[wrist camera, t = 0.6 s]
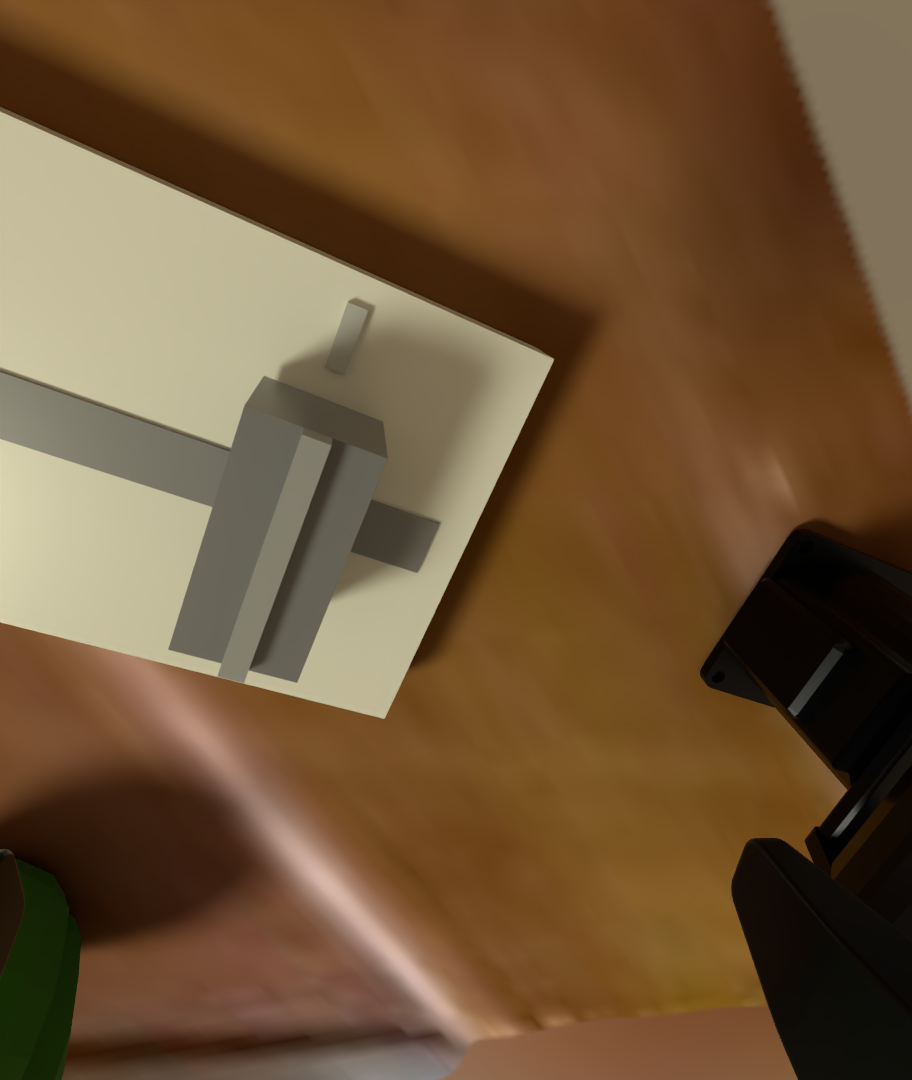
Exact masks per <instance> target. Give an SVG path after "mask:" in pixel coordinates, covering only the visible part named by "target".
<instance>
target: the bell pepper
mask: <svg viewBox="0 0 912 1080" xmlns="http://www.w3.org/2000/svg"><path fill="white" fill-rule="evenodd" d="M16 863H17V867H18V871H19V875H20V879H21V883H22V888H23V892H24V897H25V907H24V913H23V917H22V921H21V924H20V926H19V929H18V932H17V935H16V937H15V940H14V943H13V945H12V948H11V951H10V954H9V956H8V959H7V962H6V964H5V967H4V970H3V972H2V975H1V978H0V1080H61V1079H62V1076H63V1071H64V1066H65V1060H66V1055H67V1049H68V1044H69V1038H70V1033H71V1026H72V1018H73V1011H74V1004H75V997H76V990H77V983H78V975H79V961H80V947H81V935H80V932H79V929H78V925H77V922H76V919H75V917H74V916H71V915H69V906H68V903H67V900H66V897H65V894H64V892H63V890H62V889H61V887H60V885H59V884H58V882H57V880H56V878H55V877H54V875H52V874H50V873H48V872H46V871H43V870H41V869H39V868H37V867H35V866H33V865H30V864H28V863H26V862H24V861H22V860H20V859H16Z"/></svg>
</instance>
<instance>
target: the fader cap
mask: <svg viewBox="0 0 912 1080" xmlns="http://www.w3.org/2000/svg"><path fill="white" fill-rule="evenodd" d="M387 460H388V456H387V448H386V440H385V432H384V425H383V421H380V420H378V419H375V418H373V417H370V416H367V415H365V414H362V413H360V412H357V411H354V410H352V409H349V408H347V407H344V406H341V405H339V404H336V403H334V402H331V401H328V400H326V399H323V398H321V397H318V396H315V395H313V394H310V393H308V392H305V391H302V390H300V389H297V388H295V387H292V386H289V385H287V384H284V383H282V382H279V381H277V380H274V379H271V378H269V377H266V376H264V377H263V378H262V380H261V381H260V383H259V384H258V386H257V387H256V389H255V390H254V392H253V393H252V395H251V396H250V398H249V399H248V401H247V402H246V404H245V405H244V408H243V411H242V415H241V418H240V421H239V424H238V427H237V431H236V434H235V437H234V440H233V443H232V447H231V450H230V453H229V456H228V459H227V463H226V466H225V469H224V472H223V475H222V479H221V482H220V485H219V488H218V491H217V495H216V498H215V501H214V504H213V507H212V511H211V514H210V517H209V520H208V523H207V527H206V530H205V533H204V536H203V539H202V543H201V546H200V549H199V552H198V555H197V559H196V562H195V565H194V568H193V571H192V575H191V578H190V581H189V584H188V588H187V591H186V594H185V597H184V600H183V604H182V607H181V610H180V613H179V616H178V620H177V623H176V626H175V629H174V632H173V636H172V639H171V642H170V645H169V648H168V650H171V651H175V652H179V653H183V654H187V655H191V656H194V657H198V658H202V659H206V660H210V661H214V662H218V663H221V666H220V669H219V673H218V676H217V677H221V678H225V679H229V680H233V681H237V682H241V683H244V681H245V679H246V676H247V673H248V671H253V672H257V673H260V674H264V675H268V676H272V677H276V678H280V679H284V680H288V681H291V682H295V683H297V682H298V680H299V677H300V675H301V672H302V670H303V667H304V665H305V662H306V660H307V657H308V655H309V652H310V650H311V648H312V645H313V643H314V640H315V638H316V635H317V633H318V630H319V628H320V625H321V623H322V620H323V618H324V615H325V613H326V610H327V608H328V605H329V603H330V601H331V598H332V596H333V593H334V591H335V588H336V586H337V583H338V581H339V578H340V576H341V573H342V571H343V568H344V566H345V563H346V561H347V558H348V556H349V554H350V551H351V549H352V546H353V544H354V541H355V539H356V536H357V534H358V531H359V529H360V526H361V524H362V521H363V519H364V516H365V514H366V511H367V509H368V507H369V504H370V502H371V499H372V497H373V494H374V492H375V489H376V487H377V484H378V482H379V479H380V477H381V474H382V472H383V469H384V467H385V464H386V462H387Z"/></svg>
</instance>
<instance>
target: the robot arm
mask: <svg viewBox="0 0 912 1080" xmlns="http://www.w3.org/2000/svg"><path fill="white" fill-rule="evenodd" d="M805 541H807V542H806V544H805V545H804V546H803V547H802V548H800V545H801V544H802V543H803V542H805ZM799 548H800V549H799ZM718 671H719V673H718V674H717V675H714V674H715V673H716V672H718ZM713 675H714V676H713ZM700 676H701V678H702V679H703V680H704V682H705V683H706V684H707V686H709V687H711V688H713V689H717V690H720V691H723V692H726V693H729V694H733V695H736V696H739V697H742V698H745V699H749V700H752V701H755V702H758V703H762V704H765V705H768V706H771V707H774V708H776V709H777V710H778V711H779V712H780V713H781V715H782V716H783V717H784V718H785V719H786V720H787V721H788V723H789V724H790V725H791V726H792V727H793V728H794V729H795V731H796V732H797V733H798V734H799V735H800V736H801V737H802V739H803V740H804V741H805V742H806V743H807V744H808V745H809V747H810V748H811V749H812V750H813V751H814V752H815V753H816V755H817V756H818V757H819V758H820V759H821V760H822V761H823V763H824V764H825V765H826V766H827V767H828V768H829V769H830V771H831V772H832V773H833V774H834V775H835V776H836V777H837V779H838V780H839V781H840V782H841V783H842V784H843V785H844V787H845V788H846V789H847V792H846V793H845V794H844V796H843V797H842V798H841V800H840V801H839V802H838V803H837V805H836V806H835V807H834V809H833V810H832V811H831V812H830V814H829V815H828V816H827V818H826V819H825V820H824V822H823V823H822V824H821V825H820V827H814V829H813V830H812V831H811V833H810V834H809V835H808V836H807V838H806V839H805V843H806V846H807V848H808V851H809V853H810V855H811V858H812V860H813V863H814V864H813V863H812V862H811V861H810V860H808V859H807V858H806V857H804V856H803V855H802V854H801V853H799V852H798V851H797V850H795V849H794V848H793V847H792V846H790V845H789V844H788V843H786V842H785V841H783V840H781V839H777V838H754V839H750V840H749V841H748V842H747V843H746V845H745V847H744V849H743V852H742V855H741V857H740V860H739V863H738V865H737V868H736V871H735V874H734V876H733V879H732V886H731V890H732V898H733V902H734V905H735V908H736V911H737V914H738V917H739V920H740V923H741V926H742V929H743V932H744V935H745V938H746V941H747V944H748V947H749V950H750V953H751V956H752V959H753V962H754V965H755V968H756V971H757V974H758V977H759V980H760V983H761V986H762V989H763V992H764V995H765V998H766V1001H767V1004H768V1007H769V1010H770V1012H771V1015H772V1018H773V1021H774V1023H775V1026H776V1029H777V1031H778V1033H779V1036H780V1039H781V1041H782V1043H783V1046H784V1048H785V1051H786V1053H787V1055H788V1057H789V1060H790V1062H791V1064H792V1067H793V1069H794V1071H795V1074H796V1076H797V1078H798V1080H912V573H911V572H908V571H906V570H904V569H901V568H899V567H896V566H894V565H892V564H889V563H887V562H884V561H882V560H880V559H877V558H875V557H872V556H870V555H868V554H865V553H863V552H860V551H858V550H856V549H853V548H851V547H848V546H846V545H844V544H841V543H839V542H836V541H834V540H832V539H829V538H827V537H824V536H822V535H819V534H817V533H815V532H812V531H810V530H807V529H800V530H797V531H795V532H793V533H792V534H791V535H790V536H789V537H788V538H787V540H786V541H785V543H784V544H783V546H782V547H781V549H780V550H779V552H778V554H777V555H776V557H775V558H774V560H773V561H772V563H771V564H770V566H769V567H768V569H767V570H766V572H765V573H764V575H763V576H762V578H761V579H760V581H759V582H758V584H757V585H756V587H755V588H754V590H753V591H752V593H751V594H750V596H749V597H748V599H747V600H746V602H745V603H744V605H743V606H742V608H741V609H740V611H739V612H738V614H737V615H736V617H735V618H734V620H733V621H732V623H731V624H730V626H729V627H728V629H727V630H726V632H725V633H724V635H723V636H722V638H721V639H720V641H719V642H718V644H717V645H716V647H715V648H714V650H713V651H712V653H711V654H710V656H709V657H708V659H707V660H706V662H705V663H704V665H703V666H702V669H701V671H700ZM24 907H25V897H24V892H23V888H22V883H21V879H20V875H19V871H18V867H17V863H16V859H15V856H14V854H13V853H12V852H11V851H10V850H7V849H0V978H1V975H2V972H3V970H4V967H5V964H6V962H7V959H8V956H9V954H10V951H11V948H12V945H13V943H14V940H15V937H16V935H17V932H18V929H19V926H20V924H21V921H22V917H23V913H24Z"/></svg>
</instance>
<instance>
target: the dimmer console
mask: <svg viewBox="0 0 912 1080" xmlns="http://www.w3.org/2000/svg"><path fill="white" fill-rule="evenodd" d="M553 361H554V359H553V358H552V357H550V356H548V355H547V354H545V353H544V352H542V351H541V350H539V349H538V348H536V347H534V346H532V345H530V344H528V343H525V342H523V341H521V340H519V339H516V338H514V337H512V336H510V335H508V334H505V333H503V332H501V331H499V330H496V329H494V328H492V327H490V326H488V325H485V324H483V323H481V322H479V321H476V320H474V319H472V318H470V317H467V316H465V315H463V314H461V313H459V312H456V311H454V310H452V309H450V308H447V307H445V306H443V305H441V304H439V303H436V302H434V301H432V300H430V299H427V298H425V297H423V296H421V295H418V294H416V293H414V292H412V291H410V290H407V289H405V288H403V287H401V286H398V285H396V284H394V283H392V282H390V281H387V280H385V279H383V278H381V277H378V276H376V275H374V274H372V273H369V272H367V271H365V270H363V269H361V268H358V267H356V266H354V265H352V264H349V263H347V262H345V261H343V260H341V259H338V258H336V257H334V256H332V255H329V254H327V253H325V252H323V251H321V250H318V249H316V248H314V247H312V246H309V245H307V244H305V243H303V242H300V241H298V240H296V239H294V238H292V237H289V236H287V235H285V234H283V233H280V232H278V231H276V230H274V229H272V228H269V227H267V226H265V225H263V224H260V223H258V222H256V221H254V220H251V219H249V218H247V217H245V216H243V215H240V214H238V213H236V212H234V211H231V210H229V209H227V208H225V207H223V206H220V205H218V204H216V203H214V202H211V201H209V200H207V199H205V198H203V197H200V196H198V195H196V194H194V193H191V192H189V191H187V190H185V189H182V188H180V187H178V186H176V185H174V184H171V183H169V182H167V181H165V180H162V179H160V178H158V177H156V176H154V175H151V174H149V173H147V172H145V171H142V170H140V169H138V168H136V167H133V166H131V165H129V164H127V163H125V162H122V161H120V160H118V159H116V158H113V157H111V156H109V155H107V154H105V153H102V152H100V151H98V150H96V149H93V148H91V147H89V146H87V145H84V144H82V143H80V142H78V141H76V140H73V139H71V138H69V137H67V136H64V135H62V134H60V133H58V132H56V131H53V130H51V129H49V128H47V127H44V126H42V125H40V124H38V123H36V122H33V121H31V120H29V119H27V118H24V117H22V116H20V115H18V114H15V113H13V112H11V111H9V110H7V109H4V108H2V107H0V622H1V623H5V624H9V625H13V626H17V627H21V628H25V629H29V630H33V631H37V632H41V633H45V634H49V635H53V636H57V637H61V638H65V639H69V640H73V641H77V642H81V643H85V644H89V645H93V646H97V647H101V648H105V649H109V650H113V651H117V652H121V653H125V654H129V655H133V656H137V657H141V658H145V659H148V660H152V661H156V662H160V663H164V664H168V665H172V666H176V667H180V668H184V669H188V670H192V671H196V672H200V673H204V674H208V675H212V676H216V677H217V676H218V673H219V669H220V666H221V663H218V662H214V661H210V660H206V659H202V658H198V657H194V656H191V655H187V654H183V653H179V652H175V651H171V650H168V648H169V645H170V642H171V639H172V636H173V632H174V629H175V626H176V623H177V620H178V616H179V613H180V610H181V607H182V604H183V600H184V597H185V594H186V591H187V588H188V584H189V581H190V578H191V575H192V571H193V568H194V565H195V562H196V559H197V555H198V552H199V549H200V546H201V543H202V539H203V536H204V533H205V530H206V527H207V523H208V520H209V517H210V514H211V511H212V507H213V504H214V501H215V498H216V495H217V491H218V488H219V485H220V482H221V479H222V475H223V472H224V469H225V466H226V463H227V459H228V456H229V453H230V450H231V447H232V443H233V440H234V437H235V434H236V431H237V427H238V424H239V421H240V418H241V415H242V411H243V408H244V405H245V404H246V402H247V401H248V399H249V398H250V396H251V395H252V393H253V392H254V390H255V389H256V387H257V386H258V384H259V383H260V381H261V380H262V378H263V377H264V376H266V377H269V378H271V379H274V380H277V381H279V382H282V383H284V384H287V385H289V386H292V387H295V388H297V389H300V390H302V391H305V392H308V393H310V394H313V395H315V396H318V397H321V398H323V399H326V400H328V401H331V402H334V403H336V404H339V405H341V406H344V407H347V408H349V409H352V410H354V411H357V412H360V413H362V414H365V415H367V416H370V417H373V418H375V419H378V420H380V421H383V425H384V432H385V440H386V448H387V456H388V460H387V462H386V464H385V467H384V469H383V472H382V474H381V477H380V479H379V482H378V484H377V487H376V489H375V492H374V494H373V497H372V499H371V502H370V504H369V507H368V509H367V511H366V514H365V516H364V519H363V521H362V524H361V526H360V529H359V531H358V534H357V536H356V539H355V541H354V544H353V546H352V549H351V551H350V554H349V556H348V558H347V561H346V563H345V566H344V568H343V571H342V573H341V576H340V578H339V581H338V583H337V586H336V588H335V591H334V593H333V596H332V598H331V601H330V603H329V605H328V608H327V610H326V613H325V615H324V618H323V620H322V623H321V625H320V628H319V630H318V633H317V635H316V638H315V640H314V643H313V645H312V648H311V650H310V652H309V655H308V657H307V660H306V662H305V665H304V667H303V670H302V672H301V675H300V677H299V680H298V682H297V683H295V682H291V681H288V680H284V679H280V678H276V677H272V676H268V675H264V674H260V673H257V672H253V671H248V673H247V676H246V679H245V681H244V684H248V685H252V686H256V687H260V688H264V689H268V690H272V691H276V692H280V693H284V694H288V695H292V696H296V697H300V698H304V699H308V700H311V701H315V702H319V703H323V704H327V705H331V706H335V707H339V708H343V709H347V710H351V711H355V712H359V713H363V714H367V715H371V716H375V717H379V718H383V719H385V717H386V714H387V712H388V710H389V708H390V706H391V704H392V702H393V700H394V697H395V695H396V693H397V691H398V689H399V687H400V685H401V683H402V681H403V678H404V676H405V674H406V672H407V670H408V668H409V666H410V664H411V662H412V659H413V657H414V655H415V653H416V651H417V649H418V647H419V645H420V643H421V640H422V638H423V636H424V634H425V632H426V630H427V628H428V626H429V623H430V621H431V619H432V617H433V615H434V613H435V611H436V609H437V607H438V604H439V602H440V600H441V598H442V596H443V594H444V592H445V590H446V588H447V585H448V583H449V581H450V579H451V577H452V575H453V573H454V571H455V569H456V566H457V564H458V562H459V560H460V558H461V556H462V554H463V552H464V549H465V547H466V545H467V543H468V541H469V539H470V537H471V535H472V533H473V530H474V528H475V526H476V524H477V522H478V520H479V518H480V516H481V514H482V511H483V509H484V507H485V505H486V503H487V501H488V499H489V497H490V494H491V492H492V490H493V488H494V486H495V484H496V482H497V480H498V478H499V475H500V473H501V471H502V469H503V467H504V465H505V463H506V461H507V459H508V456H509V454H510V452H511V450H512V448H513V446H514V444H515V442H516V440H517V437H518V435H519V433H520V431H521V429H522V427H523V425H524V423H525V420H526V418H527V416H528V414H529V412H530V410H531V408H532V406H533V404H534V401H535V399H536V397H537V395H538V393H539V391H540V389H541V387H542V385H543V382H544V380H545V378H546V376H547V374H548V372H549V370H550V368H551V365H552V363H553ZM220 678H221V677H220ZM224 679H225V678H224ZM228 680H229V679H228ZM232 681H233V680H232ZM236 682H237V681H236ZM240 683H241V682H240Z"/></svg>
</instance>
